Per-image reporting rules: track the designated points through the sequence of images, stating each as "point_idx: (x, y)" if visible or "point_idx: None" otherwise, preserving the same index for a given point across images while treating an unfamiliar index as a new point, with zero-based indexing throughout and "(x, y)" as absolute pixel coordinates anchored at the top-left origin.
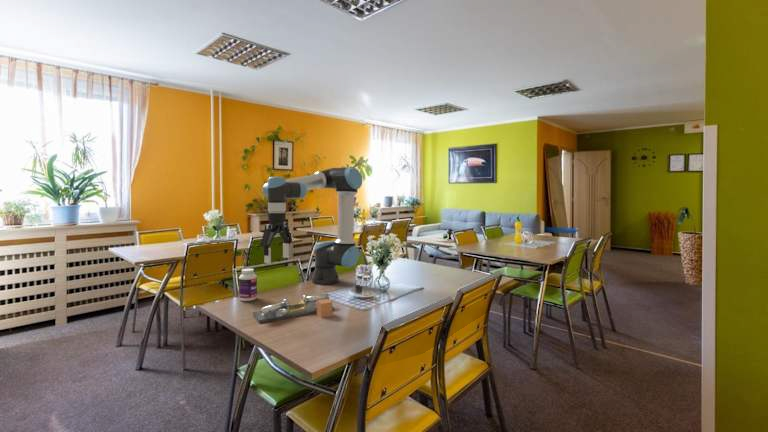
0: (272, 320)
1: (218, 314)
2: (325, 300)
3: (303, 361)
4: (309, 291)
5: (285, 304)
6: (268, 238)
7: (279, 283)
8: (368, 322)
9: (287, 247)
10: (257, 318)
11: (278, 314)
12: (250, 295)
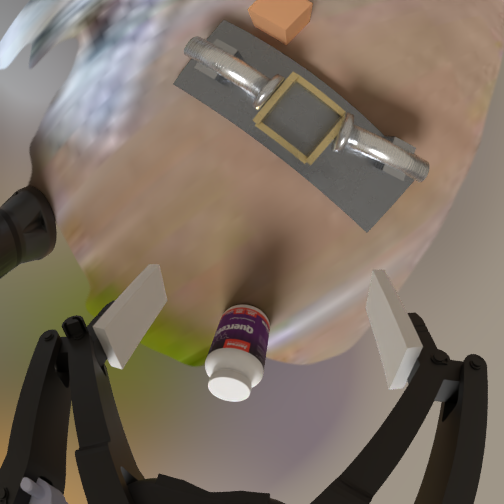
0: None
1: None
2: (269, 6)
3: (500, 13)
4: (103, 205)
5: (353, 125)
6: (466, 428)
7: None
8: None
9: (122, 312)
10: (408, 186)
11: None
12: (257, 317)
